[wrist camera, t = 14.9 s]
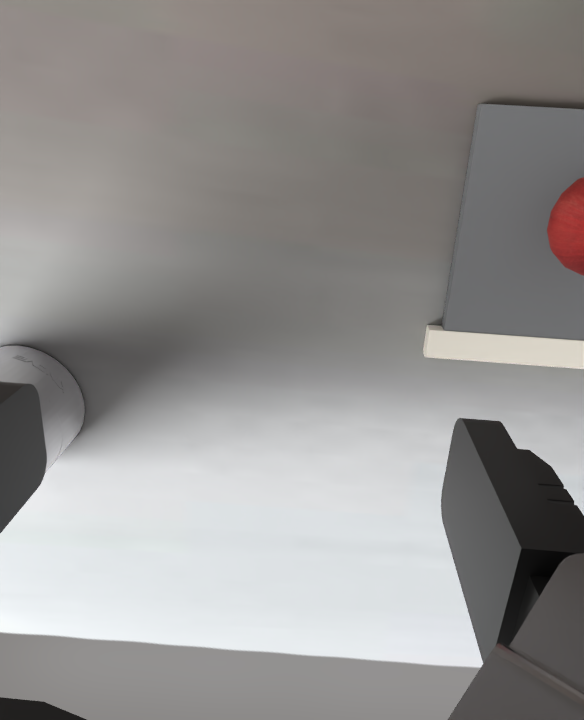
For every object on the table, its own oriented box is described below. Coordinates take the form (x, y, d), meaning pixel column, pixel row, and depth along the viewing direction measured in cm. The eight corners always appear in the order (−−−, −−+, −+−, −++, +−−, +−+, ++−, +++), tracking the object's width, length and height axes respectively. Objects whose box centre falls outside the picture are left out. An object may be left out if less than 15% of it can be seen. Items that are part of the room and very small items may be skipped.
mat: (653, 368, 39) (662, 374, 38) (422, 351, 40) (425, 357, 38) (735, 118, 33) (748, 118, 32) (460, 103, 33) (465, 102, 32)
